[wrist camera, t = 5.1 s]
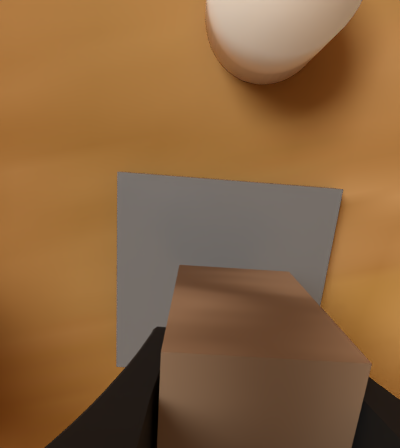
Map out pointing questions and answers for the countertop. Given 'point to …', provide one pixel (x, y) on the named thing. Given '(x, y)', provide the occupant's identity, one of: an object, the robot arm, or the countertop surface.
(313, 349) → the walnut block
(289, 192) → the plate
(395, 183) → the countertop surface
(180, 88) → the countertop surface
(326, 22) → the cream egg shape
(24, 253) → the countertop surface
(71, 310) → the countertop surface
